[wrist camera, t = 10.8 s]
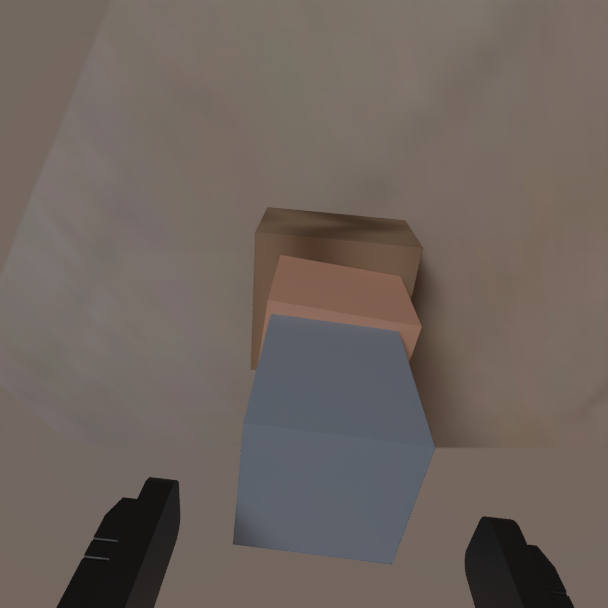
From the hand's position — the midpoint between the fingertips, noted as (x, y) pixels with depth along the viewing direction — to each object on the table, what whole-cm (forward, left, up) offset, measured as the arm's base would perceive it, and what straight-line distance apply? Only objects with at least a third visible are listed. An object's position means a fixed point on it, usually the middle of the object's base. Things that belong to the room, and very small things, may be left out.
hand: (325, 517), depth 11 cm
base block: (0, 0, -17) cm, 17 cm away
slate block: (0, 0, -7) cm, 7 cm away
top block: (0, 0, -12) cm, 12 cm away
